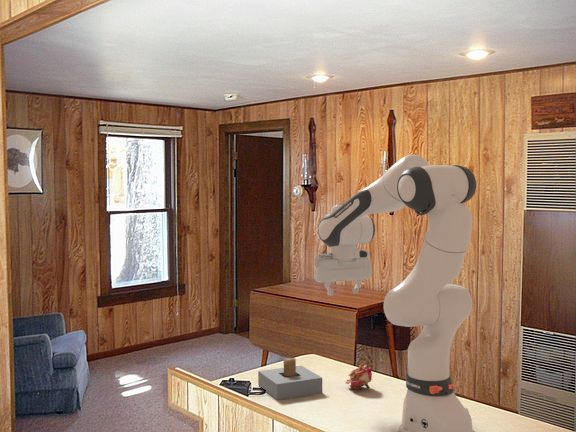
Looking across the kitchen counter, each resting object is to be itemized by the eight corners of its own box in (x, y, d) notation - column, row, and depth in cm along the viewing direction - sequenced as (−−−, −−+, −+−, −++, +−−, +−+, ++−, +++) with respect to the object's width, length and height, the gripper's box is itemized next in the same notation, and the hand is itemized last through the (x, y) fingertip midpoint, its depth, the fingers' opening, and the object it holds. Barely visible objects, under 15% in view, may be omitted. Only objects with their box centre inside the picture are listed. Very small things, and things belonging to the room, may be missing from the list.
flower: (379, 380, 199) (365, 360, 201) (380, 382, 190) (366, 361, 192) (355, 396, 199) (341, 376, 201) (355, 399, 190) (341, 378, 192)
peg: (298, 390, 195) (297, 359, 194) (286, 391, 193) (286, 361, 193) (293, 386, 198) (292, 357, 198) (282, 388, 197) (281, 358, 196)
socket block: (322, 393, 192) (322, 377, 191) (276, 400, 185) (276, 384, 185) (301, 379, 206) (301, 365, 206) (258, 385, 200) (258, 371, 200)
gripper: (319, 254, 189) (319, 298, 189) (374, 252, 197) (374, 293, 198) (310, 253, 195) (310, 295, 195) (364, 250, 203) (364, 291, 203)
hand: (343, 294), depth 196 cm, fingers open, 8 cm apart
